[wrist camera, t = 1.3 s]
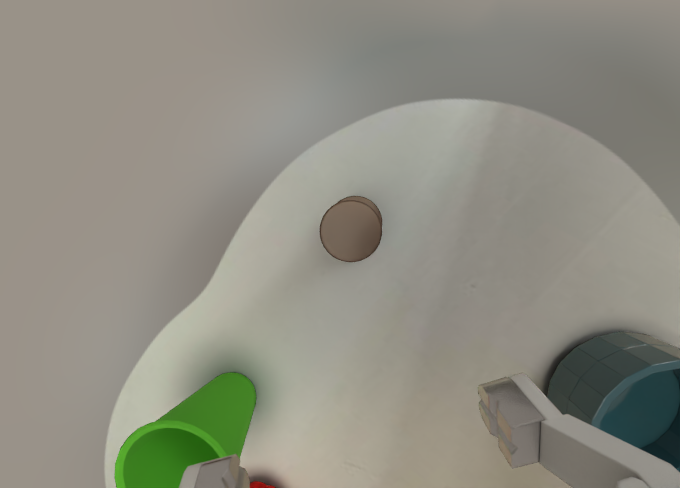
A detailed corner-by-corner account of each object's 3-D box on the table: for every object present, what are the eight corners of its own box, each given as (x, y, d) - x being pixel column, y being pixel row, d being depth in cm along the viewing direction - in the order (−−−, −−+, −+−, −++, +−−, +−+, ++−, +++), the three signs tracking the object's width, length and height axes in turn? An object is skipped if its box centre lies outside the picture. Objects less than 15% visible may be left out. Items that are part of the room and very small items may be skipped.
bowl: (581, 307, 30) (640, 333, 24) (712, 362, 30) (809, 403, 24) (519, 425, 32) (558, 479, 25) (643, 478, 32) (715, 546, 25)
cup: (264, 443, 34) (218, 552, 23) (185, 419, 34) (103, 516, 23) (283, 367, 33) (245, 443, 22) (202, 343, 33) (124, 407, 22)
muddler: (342, 189, 31) (324, 169, 16) (387, 208, 31) (413, 205, 16) (324, 235, 31) (290, 256, 16) (368, 253, 31) (375, 291, 16)
